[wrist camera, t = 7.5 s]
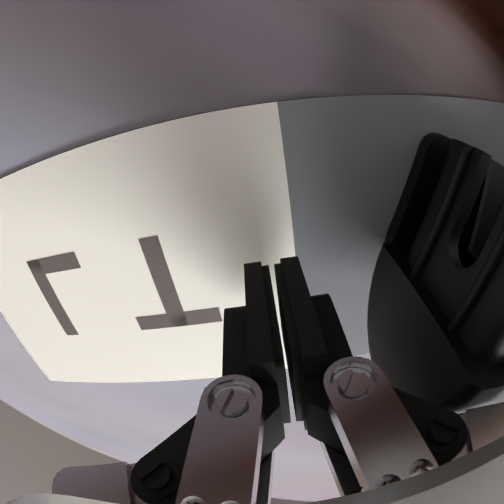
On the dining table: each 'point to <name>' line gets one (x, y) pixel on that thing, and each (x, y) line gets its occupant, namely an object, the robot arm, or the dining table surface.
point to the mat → (363, 181)
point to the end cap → (443, 280)
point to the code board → (143, 245)
